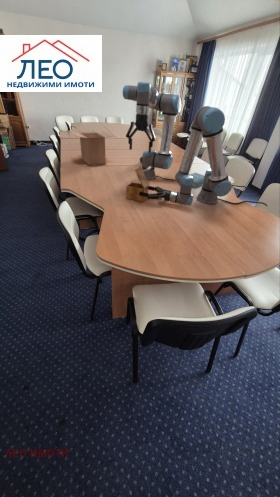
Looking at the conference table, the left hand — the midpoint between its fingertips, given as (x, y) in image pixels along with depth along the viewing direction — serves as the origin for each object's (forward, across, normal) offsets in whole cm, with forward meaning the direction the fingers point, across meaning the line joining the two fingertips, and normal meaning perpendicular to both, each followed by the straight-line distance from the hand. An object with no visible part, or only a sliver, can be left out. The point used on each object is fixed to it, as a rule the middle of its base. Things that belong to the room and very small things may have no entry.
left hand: (140, 150), depth 147 cm
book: (+33, +34, +56) cm, 74 cm away
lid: (+18, +2, 0) cm, 18 cm away
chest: (+33, 0, 0) cm, 33 cm away
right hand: (+27, +4, 0) cm, 27 cm away
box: (+33, -77, +65) cm, 106 cm away
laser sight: (+33, -22, +91) cm, 99 cm away
